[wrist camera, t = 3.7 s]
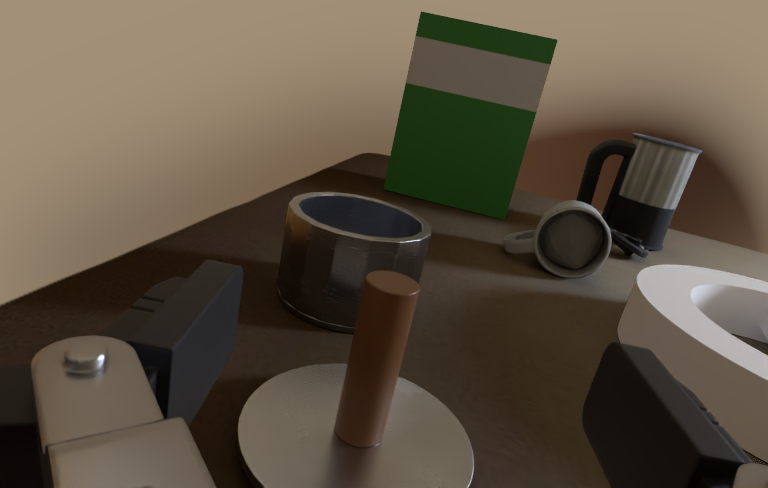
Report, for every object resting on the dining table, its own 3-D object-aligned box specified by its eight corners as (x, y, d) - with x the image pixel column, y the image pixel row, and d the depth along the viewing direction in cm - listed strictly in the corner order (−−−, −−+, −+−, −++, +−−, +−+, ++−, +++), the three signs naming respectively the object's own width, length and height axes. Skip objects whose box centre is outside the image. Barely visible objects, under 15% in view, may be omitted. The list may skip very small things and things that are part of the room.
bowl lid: (249, 575, 19) (285, 357, 16) (225, 383, 29) (245, 225, 26) (512, 531, 24) (580, 352, 21) (414, 377, 34) (450, 240, 31)
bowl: (290, 334, 35) (306, 235, 33) (267, 267, 44) (279, 186, 42) (431, 334, 39) (455, 246, 37) (384, 273, 48) (401, 199, 46)
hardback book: (504, 207, 82) (552, 43, 74) (504, 219, 75) (557, 39, 67) (393, 180, 84) (428, 17, 77) (383, 189, 77) (420, 11, 70)
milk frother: (642, 234, 84) (678, 141, 80) (705, 275, 70) (754, 163, 65) (557, 219, 83) (588, 122, 78) (603, 257, 68) (645, 141, 63)
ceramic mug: (592, 264, 64) (613, 202, 61) (597, 288, 56) (622, 218, 54) (504, 241, 66) (520, 180, 64) (497, 260, 58) (516, 192, 56)
